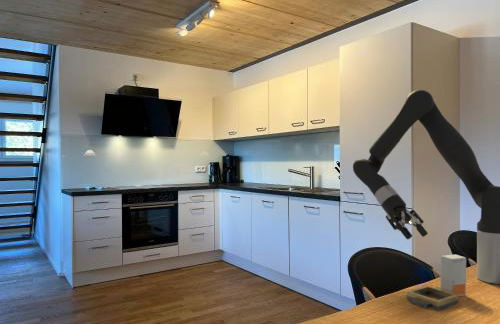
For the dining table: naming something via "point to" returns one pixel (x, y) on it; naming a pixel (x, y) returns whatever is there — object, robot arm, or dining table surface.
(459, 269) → the skincare box
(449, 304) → the beige grey rectangular frame
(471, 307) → the dining table surface
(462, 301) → the dining table surface
